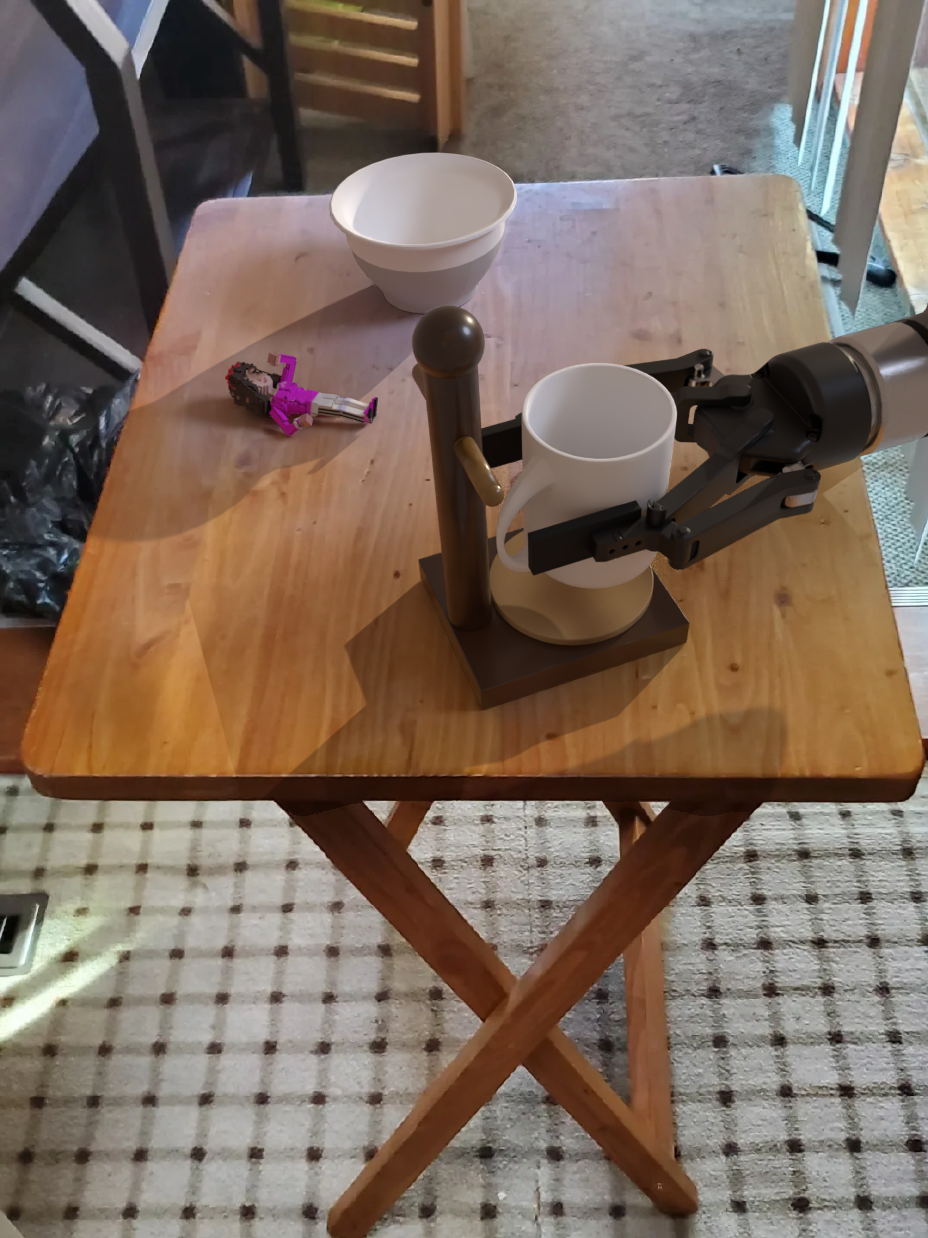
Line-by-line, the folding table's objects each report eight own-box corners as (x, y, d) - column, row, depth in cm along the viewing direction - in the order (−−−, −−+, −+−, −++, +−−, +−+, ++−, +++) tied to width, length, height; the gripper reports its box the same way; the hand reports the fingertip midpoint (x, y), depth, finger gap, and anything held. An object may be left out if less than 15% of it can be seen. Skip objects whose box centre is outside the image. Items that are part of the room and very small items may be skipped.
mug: (454, 565, 68) (442, 433, 59) (594, 477, 72) (601, 343, 64) (546, 646, 63) (547, 515, 55) (689, 546, 68) (709, 412, 59)
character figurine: (382, 409, 88) (240, 382, 89) (382, 359, 84) (234, 332, 85) (364, 456, 84) (217, 428, 85) (363, 406, 80) (208, 377, 81)
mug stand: (606, 521, 76) (626, 196, 58) (687, 644, 69) (740, 314, 50) (415, 579, 74) (373, 258, 55) (478, 713, 66) (453, 392, 48)
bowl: (384, 229, 104) (374, 142, 98) (541, 252, 100) (541, 163, 94) (313, 321, 95) (296, 231, 88) (483, 351, 90) (479, 259, 84)
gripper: (929, 557, 63) (573, 675, 59) (744, 356, 76) (443, 441, 72) (968, 459, 57) (576, 583, 53) (760, 260, 70) (434, 346, 66)
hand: (500, 501), depth 63 cm, fingers closed on mug, 9 cm apart
